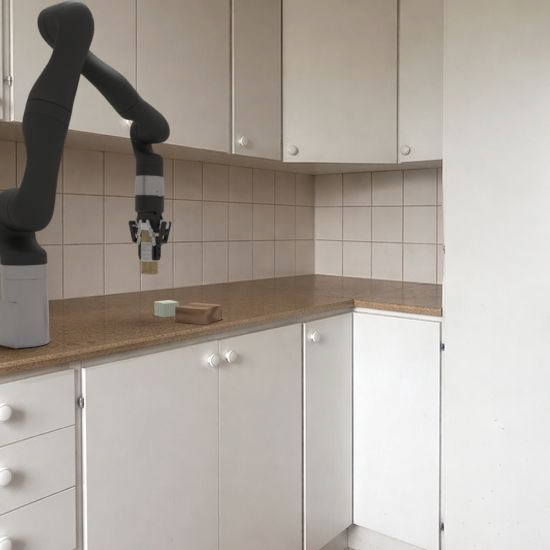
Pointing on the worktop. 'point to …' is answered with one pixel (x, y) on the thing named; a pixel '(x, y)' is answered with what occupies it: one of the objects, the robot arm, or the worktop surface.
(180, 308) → the walnut block
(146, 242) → the sprinkles bottle
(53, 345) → the worktop surface
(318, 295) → the worktop surface
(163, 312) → the sage block
